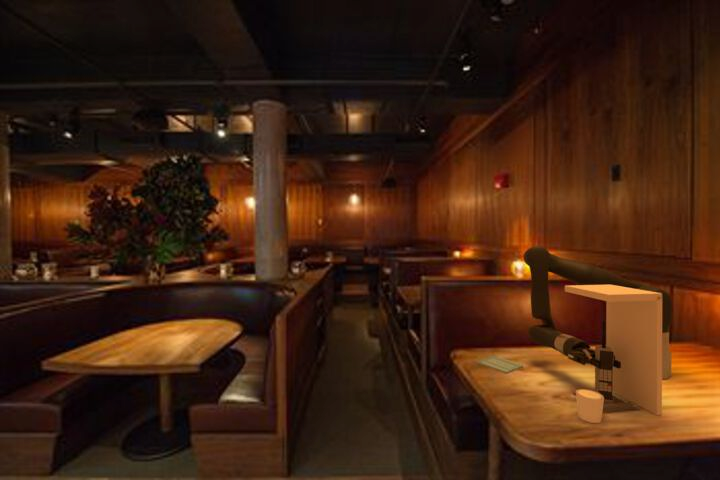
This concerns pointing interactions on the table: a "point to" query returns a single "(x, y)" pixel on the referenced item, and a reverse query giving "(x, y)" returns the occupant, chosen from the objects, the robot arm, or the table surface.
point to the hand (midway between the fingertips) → (611, 365)
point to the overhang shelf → (632, 344)
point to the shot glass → (589, 405)
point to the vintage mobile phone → (604, 370)
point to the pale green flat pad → (500, 364)
